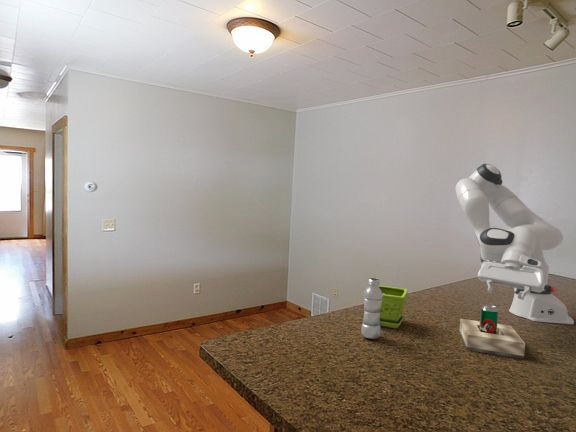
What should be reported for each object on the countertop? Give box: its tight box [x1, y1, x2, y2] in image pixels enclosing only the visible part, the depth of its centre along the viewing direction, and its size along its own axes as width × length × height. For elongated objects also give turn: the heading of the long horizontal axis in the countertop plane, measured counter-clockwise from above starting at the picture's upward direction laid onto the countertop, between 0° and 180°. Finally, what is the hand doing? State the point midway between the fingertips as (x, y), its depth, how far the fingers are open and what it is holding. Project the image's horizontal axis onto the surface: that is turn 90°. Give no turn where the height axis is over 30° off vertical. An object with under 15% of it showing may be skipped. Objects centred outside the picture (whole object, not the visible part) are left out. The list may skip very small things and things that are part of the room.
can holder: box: [458, 318, 526, 360], centre depth 121 cm, size 16×16×5 cm
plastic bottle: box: [360, 277, 384, 340], centre depth 121 cm, size 6×7×20 cm
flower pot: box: [379, 285, 409, 329], centre depth 136 cm, size 14×14×13 cm
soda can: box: [479, 304, 499, 334], centre depth 120 cm, size 5×5×12 cm
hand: (504, 295), depth 125 cm, fingers open, 8 cm apart
